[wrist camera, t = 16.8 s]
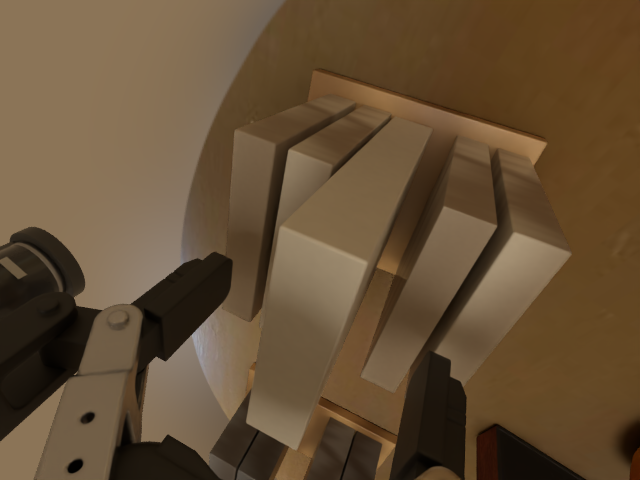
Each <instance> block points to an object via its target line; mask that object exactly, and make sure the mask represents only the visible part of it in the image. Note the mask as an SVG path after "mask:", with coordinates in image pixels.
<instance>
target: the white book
mask: <svg viewBox="0 0 640 480" xmlns="http://www.w3.org/2000/svg"><path fill="white" fill-rule="evenodd" d="M432 131H433V129H432V128H430V127H427V126H424V125H421V124H418V123H414V122H411V121H408V120H405V119H402V118H399V117H394V118H393V119H392V120H391V121H390V122H389V123H388V124H387V125H386V126H384V127H383V128H382V129H381V130H380V131H379V132H378V133H377V134H376V135H375V136H374V137H373V138H372V139H371V140H370V141H369V142H368V143H367V144H366V145H365V146H363V147H362V148H361V149H360V150H359V151H358V152H357V153H356V154H355V155H354V156H353V157H352V158H351V159H350V160H349V161H348V162H347V163H346V164H345V165H344V166H342V167H341V168H340V169H339V170H338V171H337V172H336V173H335V174H334V175H333V176H332V177H331V178H330V179H329V180H328V181H327V182H326V183H325V184H324V185H323V186H321V187H320V188H319V189H318V190H317V191H316V192H315V193H314V194H313V195H312V196H311V197H310V198H309V199H308V200H307V201H306V202H305V203H304V204H303V205H302V206H300V207H299V208H298V209H297V210H296V211H295V212H294V213H293V214H292V215H291V216H290V217H289V218H288V219H287V220H286V221H285V222H284V223H283V224H282V225H281V226H280V227H279V233H278V239H277V245H276V251H275V256H274V262H273V268H272V274H271V280H270V285H269V291H268V297H267V303H266V309H265V314H264V320H263V326H262V332H261V338H260V343H259V349H258V355H257V361H256V367H255V372H254V378H253V384H252V390H251V396H250V401H249V407H248V413H247V419H246V423H247V424H249V425H251V426H253V427H254V428H256V429H258V430H260V431H262V432H263V433H265V434H267V435H269V436H271V437H272V438H274V439H276V440H278V441H280V442H281V443H283V444H285V445H287V446H289V447H290V448H292V449H294V450H297V449H298V447H299V445H300V443H301V440H302V438H303V436H304V434H305V431H306V429H307V427H308V424H309V422H310V420H311V417H312V415H313V413H314V411H315V408H316V406H317V404H318V401H319V399H320V397H321V395H322V392H323V390H324V388H325V385H326V383H327V381H328V378H329V376H330V374H331V372H332V369H333V367H334V365H335V362H336V360H337V358H338V356H339V353H340V351H341V349H342V346H343V344H344V342H345V339H346V337H347V335H348V333H349V330H350V328H351V326H352V323H353V321H354V319H355V316H356V314H357V312H358V310H359V307H360V305H361V303H362V300H363V298H364V296H365V294H366V291H367V289H368V287H369V284H370V282H371V280H372V277H373V275H374V273H375V271H376V268H377V266H378V264H379V261H380V259H381V257H382V254H383V252H384V249H385V247H386V244H387V242H388V239H389V237H390V234H391V232H392V230H393V227H394V225H395V222H396V220H397V217H398V215H399V212H400V210H401V207H402V205H403V202H404V200H405V197H406V195H407V192H408V190H409V188H410V185H411V183H412V180H413V178H414V175H415V173H416V170H417V168H418V165H419V163H420V160H421V158H422V155H423V153H424V151H425V148H426V146H427V143H428V141H429V138H430V136H431V133H432Z"/></svg>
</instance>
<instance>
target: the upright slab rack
mask: <svg viewBox="0 0 640 480" xmlns="http://www.w3.org/2000/svg"><path fill="white" fill-rule="evenodd" d="M394 117H399V118H402V119H405V120H408V121H411V122H414V123H418V124H421V125H424V126H427V127H430V128H432V129H433V131H432V133H431V136H430V138H429V141H428V143H427V146H426V148H425V151H424V153H423V155H422V158H421V160H420V163H419V165H418V168H417V170H416V173H415V175H414V178H413V180H412V183H411V185H410V188H409V190H408V192H407V195H406V197H405V200H404V202H403V205H402V207H401V210H400V212H399V215H398V217H397V220H396V222H395V225H394V227H393V230H392V232H391V234H390V237H389V239H388V242H387V244H386V247H385V249H384V252H383V254H382V257H381V259H380V261H379V264H378V266H377V267H378V268H380V269H382V270H385V271H387V272H389V273H392V274H394V275H395V276H394V279H393V282H392V285H391V288H390V291H389V294H388V297H387V299H386V302H385V305H384V308H383V311H382V314H381V317H380V320H379V323H378V326H377V328H376V331H375V334H374V337H373V340H372V343H371V346H370V349H369V352H368V355H367V357H366V360H365V363H364V366H363V369H362V372H361V375H360V377H361V378H363V379H365V380H368V381H370V382H372V383H374V384H376V385H378V386H380V387H382V388H384V389H386V390H388V391H390V392H392V393H394V392H395V391H396V389H397V388H398V386H399V384H400V383H401V381H402V379H403V378H404V376H405V375H406V373H407V371H408V370H409V368H410V372H409V377H408V382H407V387H406V391H405V396H404V397H405V398H406V393H407V388H408V385H409V382H410V380H411V377H412V375H413V374H414V372H415V371H416V369H417V367H418V366H419V364H420V363H421V361H422V360H423V358H424V356H425V355H426V353H427V352H428V351H429V350H430V351H433V352H435V353H437V354H439V355H441V356H443V357H446V358H448V359H450V360H451V372H450V377H452V378H454V379H456V380H459V381H461V384H462V386H464V385H465V384H466V383H467V382H468V380H469V379H470V378H471V377H472V375H473V374H474V373H475V372H476V371H477V369H478V368H479V367H480V366H481V364H482V363H483V362H484V361H485V360H486V358H487V357H488V356H489V355H490V353H491V352H492V351H493V350H494V349H495V347H496V346H497V345H498V344H499V342H500V341H501V340H502V339H503V338H504V336H505V335H506V334H507V333H508V331H509V330H510V329H511V328H512V327H513V325H514V324H515V323H516V322H517V320H518V319H519V318H520V317H521V316H522V314H523V313H524V312H525V311H526V309H527V308H528V307H529V306H530V305H531V303H532V302H533V301H534V300H535V298H536V297H537V296H538V295H539V294H540V292H541V291H542V290H543V289H544V287H545V286H546V285H547V284H548V283H549V281H550V280H551V279H552V278H553V276H554V275H555V274H556V273H557V272H558V270H559V269H560V268H561V267H562V265H563V264H564V263H565V262H566V261H567V259H568V258H569V257H570V256H571V254H572V252H571V250H570V247H569V245H568V243H567V241H566V238H565V236H564V234H563V232H562V230H561V227H560V225H559V223H558V221H557V218H556V216H555V214H554V212H553V209H552V207H551V205H550V203H549V200H548V198H547V196H546V194H545V191H544V189H543V187H542V185H541V182H540V180H539V178H538V176H537V173H536V171H535V169H534V167H533V166H534V165H535V163H536V162H537V160H538V158H539V157H540V155H541V154H542V152H543V150H544V149H545V147H546V145H547V144H548V143H547V141H546V140H545V139H544V138H541V137H538V136H535V135H532V134H528V133H525V132H522V131H519V130H515V129H512V128H509V127H506V126H503V125H499V124H496V123H493V122H490V121H486V120H483V119H480V118H477V117H473V116H470V115H467V114H464V113H461V112H457V111H454V110H451V109H448V108H444V107H441V106H438V105H435V104H432V103H428V102H425V101H422V100H419V99H415V98H412V97H409V96H406V95H403V94H399V93H396V92H393V91H390V90H386V89H383V88H380V87H377V86H374V85H370V84H367V83H364V82H361V81H357V80H354V79H351V78H348V77H345V76H341V75H338V74H335V73H332V72H328V71H325V70H322V69H315V70H313V74H312V79H311V84H310V90H309V95H308V101H307V103H304V104H301V105H299V106H296V107H293V108H290V109H288V110H285V111H282V112H280V113H277V114H274V115H272V116H269V117H266V118H264V119H261V120H258V121H256V122H253V123H250V124H248V125H245V126H242V127H240V128H237V129H235V131H234V145H233V160H232V174H231V188H230V203H229V217H228V231H227V246H226V257H228V258H230V259H232V261H233V268H232V279H231V288H230V292H229V294H228V296H227V298H226V299H225V300H224V302H223V303H222V309H224V310H226V311H228V312H230V313H232V314H234V315H236V316H238V317H240V318H242V319H244V320H246V321H248V322H251V321H252V319H253V318H254V317H255V316H256V314H257V313H258V312H259V311H260V309H261V308H262V311H261V317H260V323H259V327H260V328H262V326H263V320H264V314H265V309H266V303H267V297H268V291H269V285H270V280H271V274H272V268H273V262H274V256H275V251H276V245H277V239H278V233H279V227H280V226H281V225H282V224H283V223H284V222H285V221H286V220H287V219H288V218H289V217H290V216H291V215H292V214H293V213H294V212H295V211H296V210H297V209H298V208H299V207H300V206H302V205H303V204H304V203H305V202H306V201H307V200H308V199H309V198H310V197H311V196H312V195H313V194H314V193H315V192H316V191H317V190H318V189H319V188H320V187H321V186H323V185H324V184H325V183H326V182H327V181H328V180H329V179H330V178H331V177H332V176H333V175H334V174H335V173H336V172H337V171H338V170H339V169H340V168H341V167H342V166H344V165H345V164H346V163H347V162H348V161H349V160H350V159H351V158H352V157H353V156H354V155H355V154H356V153H357V152H358V151H359V150H360V149H361V148H362V147H363V146H365V145H366V144H367V143H368V142H369V141H370V140H371V139H372V138H373V137H374V136H375V135H376V134H377V133H378V132H379V131H380V130H381V129H382V128H383V127H384V126H386V125H387V124H388V123H389V122H390V121H391V120H392V119H393V118H394Z"/></svg>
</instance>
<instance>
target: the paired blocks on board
mask: <svg viewBox="0 0 640 480" xmlns="http://www.w3.org/2000/svg"><path fill="white" fill-rule="evenodd" d="M255 367H256V363H253V365H252V366H251V368H250V371H249V377H248V383H247V389H246V395H245V399H244V400H243V402H242V403H241V405H240V407H239V408H238V410H237V411H236V413H235V414H234V416H233V417H232V419H231V421H230V422H229V424H228V425H227V427H226V429H225V430H224V431H223V433H222V435H221V436H220V438H219V439H218V441H217V442H216V444H215V445H214V447H213V449H212V450H211V452H210V457H209V459H210V460H209V467H210V468H211V469H212V470H213V472H214V473H215V474H216V475H217V476H218V477H219V478H220V479H222V480H274V478H275V476H276V474H277V472H278V470H279V467H280V465H281V463H282V461H283V459H284V457H285V454H286V452H287V450H288V448H289V446H287V445H285V444H283V443H281V442H280V441H278V440H276V439H274V438H272V437H271V436H269V435H267V434H265V433H263V432H262V431H260V430H258V429H256V428H254V427H253V426H251V425H249V424H247V423H246V419H247V413H248V407H249V401H250V396H251V390H252V384H253V378H254V372H255ZM397 438H398V437H397V436H395V435H393V434H392V433H390V432H388V431H386V430H384V429H382V428H380V427H378V426H376V425H374V424H372V423H370V422H368V421H366V420H364V419H362V418H361V417H359V416H357V415H355V414H353V413H351V412H349V411H347V410H345V409H343V408H341V407H339V406H337V405H335V404H333V403H331V402H329V401H328V400H326V399H324V398H322V397H320V399H319V401H318V404H317V406H316V408H315V411H314V413H313V415H312V417H311V420H310V422H309V424H308V427H307V429H306V431H305V434H304V436H303V438H302V440H301V443H300V445H299V447H298V449H297V451H299V452H301V453H302V454H304V455H306V456H308V457H310V458H311V461H310V464H309V466H308V469H307V471H306V474H305V477H304V479H303V480H374V478H375V474H376V471H377V470H378V468H379V467H380V466H381V464H382V463H383V462H384V460H385V459H386V458H387V456H388V455H389V454H390V452H391V451H392V450H393V448H394V447H395V446H396V443H397Z"/></svg>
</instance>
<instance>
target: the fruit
mask: <svg viewBox="0 0 640 480" xmlns="http://www.w3.org/2000/svg"><path fill="white" fill-rule="evenodd" d="M630 480H640V447H639V448H638V449H637V451H636V452H635V454H634V456H633V458H632V463H631V469H630Z"/></svg>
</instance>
